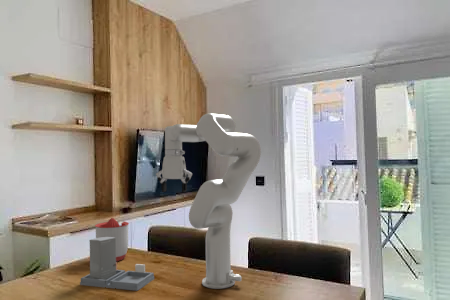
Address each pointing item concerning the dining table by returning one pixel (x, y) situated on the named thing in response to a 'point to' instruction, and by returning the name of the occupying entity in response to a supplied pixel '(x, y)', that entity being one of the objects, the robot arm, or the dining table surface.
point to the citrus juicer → (115, 235)
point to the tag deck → (122, 279)
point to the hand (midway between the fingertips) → (174, 191)
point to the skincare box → (102, 258)
